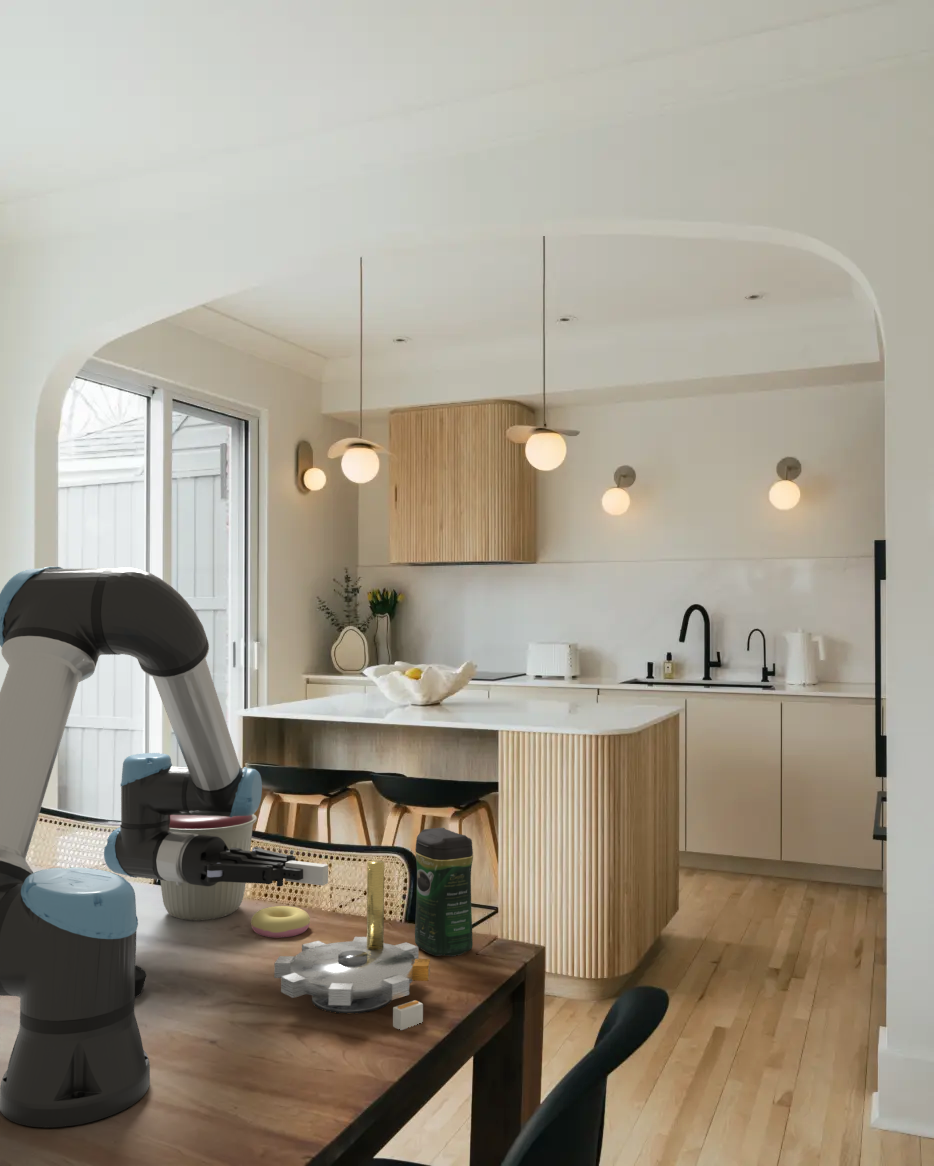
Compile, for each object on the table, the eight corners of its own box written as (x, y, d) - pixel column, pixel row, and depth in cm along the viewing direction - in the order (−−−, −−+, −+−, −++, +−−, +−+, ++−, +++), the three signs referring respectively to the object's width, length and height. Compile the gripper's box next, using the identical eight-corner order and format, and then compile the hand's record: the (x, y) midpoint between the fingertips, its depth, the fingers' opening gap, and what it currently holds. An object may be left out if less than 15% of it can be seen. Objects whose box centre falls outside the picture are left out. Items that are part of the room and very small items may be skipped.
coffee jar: (480, 953, 154) (481, 833, 154) (436, 961, 150) (436, 838, 150) (450, 936, 162) (451, 822, 163) (407, 943, 158) (408, 827, 159)
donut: (275, 956, 159) (321, 935, 165) (274, 930, 158) (321, 909, 165) (240, 933, 166) (286, 913, 172) (239, 907, 165) (285, 889, 171)
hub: (369, 1019, 128) (369, 997, 128) (296, 1006, 132) (296, 985, 132) (406, 990, 138) (406, 970, 138) (337, 979, 142) (337, 960, 142)
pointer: (400, 1030, 124) (401, 1009, 124) (393, 1026, 125) (393, 1005, 125) (422, 1022, 126) (422, 1002, 127) (414, 1019, 128) (415, 998, 128)
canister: (276, 908, 177) (278, 790, 178) (198, 934, 162) (201, 805, 163) (207, 893, 187) (209, 781, 188) (127, 916, 172) (130, 795, 173)
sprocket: (385, 1014, 121) (386, 899, 122) (244, 990, 129) (246, 882, 130) (452, 962, 140) (452, 863, 141) (326, 943, 148) (327, 850, 149)
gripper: (219, 873, 160) (347, 889, 151) (166, 894, 148) (301, 913, 139) (220, 826, 160) (347, 839, 151) (167, 844, 148) (301, 859, 139)
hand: (325, 875), depth 145 cm, fingers closed
